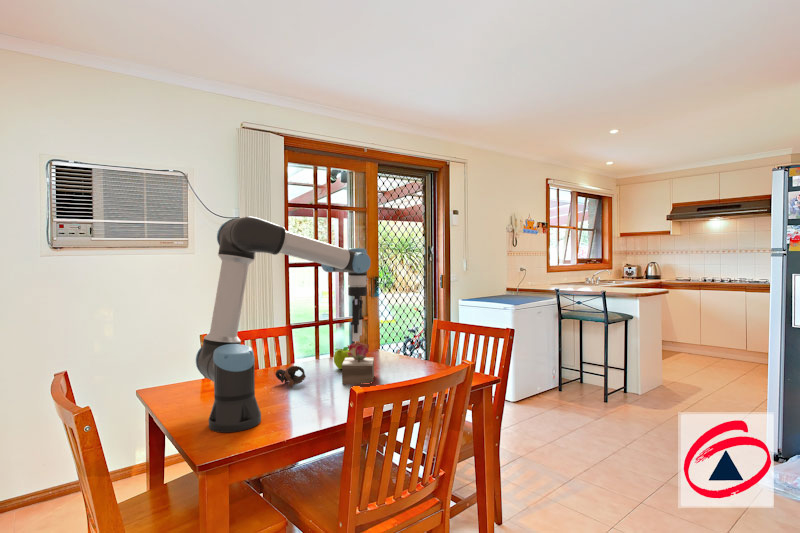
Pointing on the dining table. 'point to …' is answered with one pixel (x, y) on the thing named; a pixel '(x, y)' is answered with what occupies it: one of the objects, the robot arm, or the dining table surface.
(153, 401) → the dining table surface
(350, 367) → the pedestal
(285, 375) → the pottery mug
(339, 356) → the fruit
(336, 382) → the dining table surface
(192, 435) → the dining table surface
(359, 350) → the flower
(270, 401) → the dining table surface
